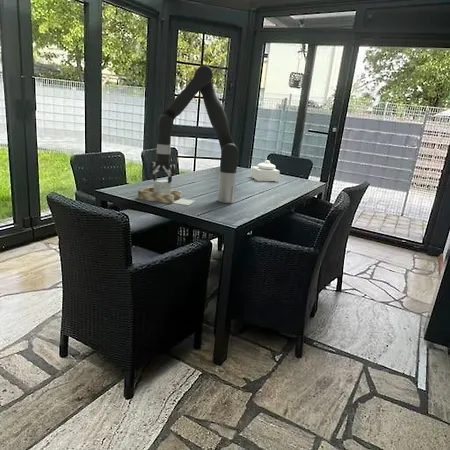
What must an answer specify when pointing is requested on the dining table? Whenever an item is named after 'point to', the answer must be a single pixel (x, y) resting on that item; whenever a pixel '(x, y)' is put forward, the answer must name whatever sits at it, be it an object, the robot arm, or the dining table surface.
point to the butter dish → (265, 172)
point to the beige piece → (158, 195)
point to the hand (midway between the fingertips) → (162, 181)
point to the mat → (184, 202)
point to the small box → (162, 187)
